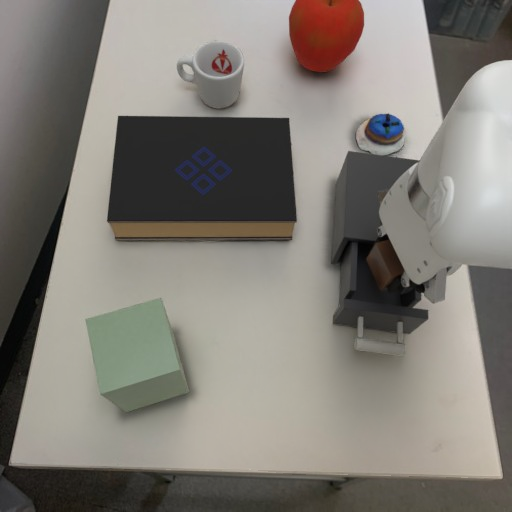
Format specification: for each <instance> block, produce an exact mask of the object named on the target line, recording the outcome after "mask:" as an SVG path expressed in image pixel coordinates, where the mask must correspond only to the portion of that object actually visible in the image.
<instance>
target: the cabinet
mask: <svg viewBox="0 0 512 512" xmlns="http://www.w3.org/2000/svg"><path fill="white" fill-rule="evenodd" d="M419 160H420V159H412V158H405V157H404V158H403V157H398V156H389V155H375V154H372V153H368V152H359V151H352V150H348V151H347V153H346V155H345V158H344V161H343V164H342V166H341V169H340V172H339V174H338V177H337V180H336V182H335V185H334V186H335V187H334V188H335V189H334V202H333V203H334V205H333V223H332V235H331V236H332V237H331V238H332V239H331V255H330V256H331V257H330V264H331V265H337V266H341V262H342V252H343V250H344V248H345V246H346V244H347V242H348V240H350V241H357V242H365V243H372V244H374V243H375V241H376V239H377V238H378V236H379V235H378V233H377V228H378V227H380V226H381V221H380V215H379V209H380V201H379V195H378V192H379V191H381V190H385V189H391V187H392V186H393V185H394V183H395V182H396V181H397V180H398V179H399V178H400V177H401V176H402V175H403V174H404V173H405V172H406V171H407V170H408V169H409V168H411V167H412V166H413V165H414V164H416V163H418V162H419Z"/></svg>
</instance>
